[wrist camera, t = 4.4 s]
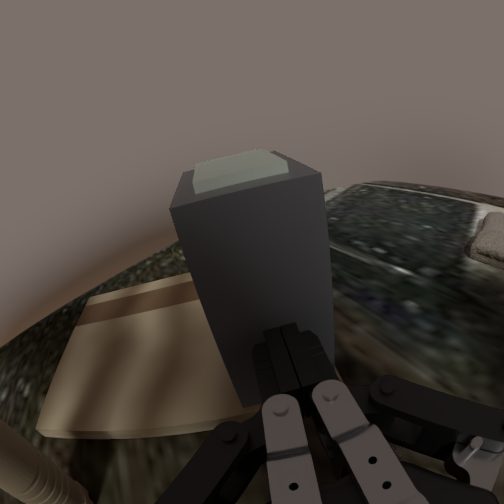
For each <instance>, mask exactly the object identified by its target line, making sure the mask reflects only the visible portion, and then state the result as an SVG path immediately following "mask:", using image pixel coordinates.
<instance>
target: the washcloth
mask: <svg viewBox="0 0 504 504" xmlns="http://www.w3.org/2000/svg"><path fill="white" fill-rule="evenodd" d="M470 257H472V258H473V259H474V260H477V261H481V262H483V263H486V264H489V265H492V266H494V267H497V268H500V269H502V270H504V213H501V212H490V213H488V214H487V215H486V216H485V218H484V221H483V226H482V230H481V231H479V232H478V234H477V236H476V237H475V239H474V241H473V243H472V245H471V247H470Z"/></svg>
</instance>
